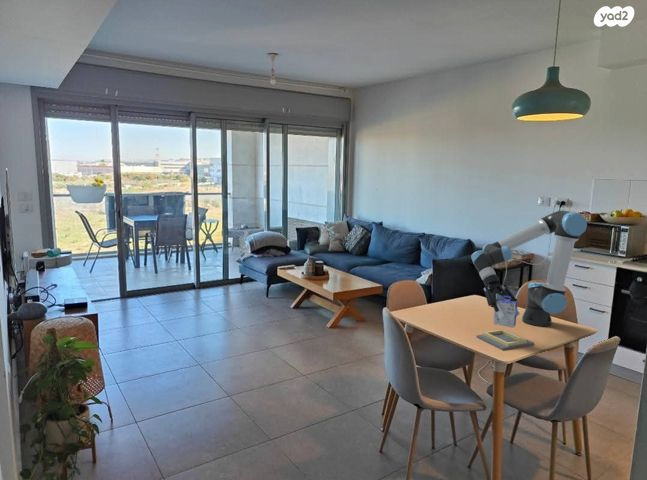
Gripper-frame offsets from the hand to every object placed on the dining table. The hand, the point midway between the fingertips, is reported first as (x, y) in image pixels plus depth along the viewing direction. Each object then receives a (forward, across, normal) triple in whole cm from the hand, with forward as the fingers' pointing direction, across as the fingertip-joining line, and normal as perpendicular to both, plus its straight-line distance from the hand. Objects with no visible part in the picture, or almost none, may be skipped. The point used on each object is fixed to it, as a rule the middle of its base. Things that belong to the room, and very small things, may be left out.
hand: (510, 316), depth 217 cm
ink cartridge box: (+2, 0, -6) cm, 6 cm away
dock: (+8, -1, -12) cm, 14 cm away
